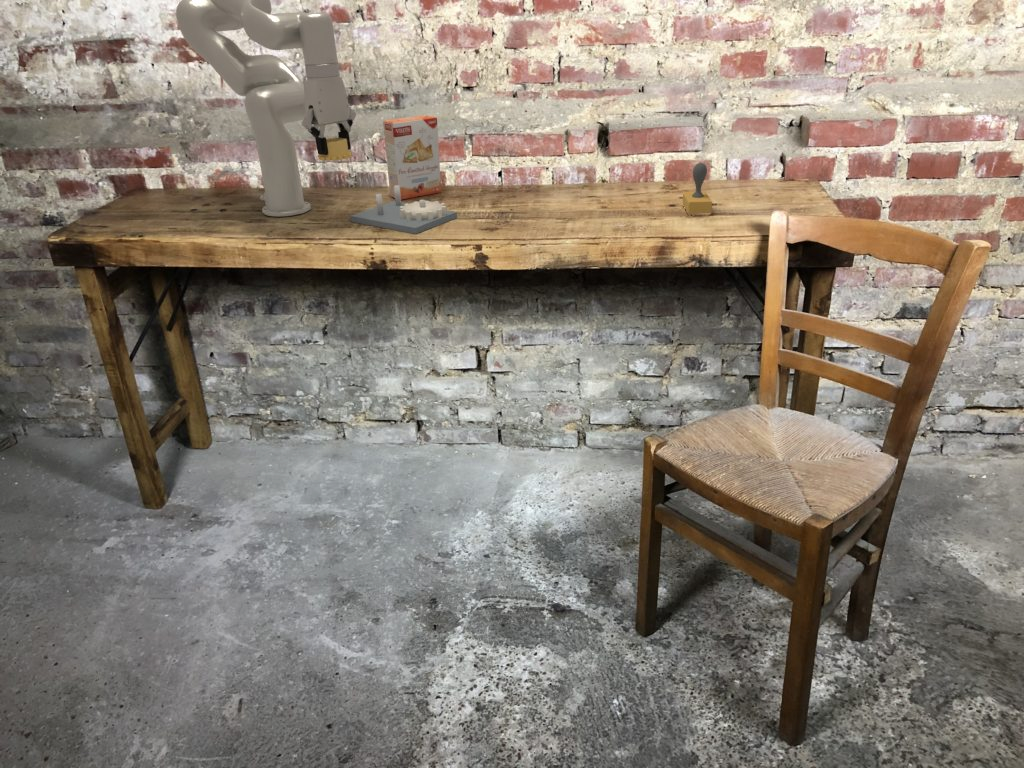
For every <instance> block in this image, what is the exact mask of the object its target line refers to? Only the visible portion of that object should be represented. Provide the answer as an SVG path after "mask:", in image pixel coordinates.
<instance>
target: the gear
mask: <svg viewBox="0 0 1024 768" xmlns="http://www.w3.org/2000/svg"><path fill="white" fill-rule="evenodd" d="M326 140H327V147H328V155H320V154H318V155H317V157H318V160H319V161H324V162H325V161H326V162H327V161H328V162H329V161H333V162H334V161H335V162H336V161H342V160H343V161H344V160H347V159H350V158H352V157H353V152H352V151H350V150H348V144H347V139H346V138H339V137H333V138H332V137H331V138H326Z"/></svg>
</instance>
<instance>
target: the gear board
mask: <svg viewBox="0 0 1024 768" xmlns="http://www.w3.org/2000/svg"><path fill="white" fill-rule="evenodd" d="M394 192H395V198H394V199H395V201H390V202H386V203H385V204H384V203H383V197H382V196H383V195H382V193H376V194H375V202H376V206H375V207H371V208H368V209H365V210H363V211H360V212H357V213H354V214H350V215H349V221H350V222H352V223H357V224H361V225H366V226H372V227H376V228H381V227H382V229H386V230H393V231H398V232H404V233H407V234H408V233H409V234H412V235H417V234H419V233H422V232H425V231H427V230H429V229H432V228H435V227H437V226H440V225H443V224H445V223H448V222H450V221H452V220H455V219H457V218H458V212H457V211H452V210H447V206H446V204H445V203H444V202H441V203H440V201H438V200H436V201H435V200H434V201H429V200H426V199H419V201H413V202H411V203H405V202H402V200H401V194H400V186H399V185H395V186H394Z"/></svg>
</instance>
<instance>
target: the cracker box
mask: <svg viewBox="0 0 1024 768" xmlns="http://www.w3.org/2000/svg"><path fill="white" fill-rule="evenodd" d="M382 124H383V133H384V134H383V135H384V142H385V154H386V166H387V177H388V186H389V196H390V197H391V198H394V199H395V192H394V186H395V185H399V186H400V194H401V201H402V200H407V199H413V198H417V197H418V196H419V197H424V196H429V195H434V194H440V193H442V183H441V182H442V181H441V180H442V179H441V167H440V166H441V164H440V150H439V149H440V148H439V147H440V146H439V133H438V132H439V131H438V130H439V129H438V118H437V117H436V116H433V115H428V114H425V115H418V116H417V115H416V116H409V117H400V118H391V119H386V120H383V121H382Z"/></svg>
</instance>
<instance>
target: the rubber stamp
mask: <svg viewBox="0 0 1024 768" xmlns="http://www.w3.org/2000/svg"><path fill="white" fill-rule="evenodd" d="M707 168H708V167H707V166H706V164H705V163H702V162H697V163H696V164H695V165H694V167H693V169H692V178H693V181H694V184H695V191H684V192H683V193H682V203H683V205H684V207H685V209H686V211H687V213H689V214H691V213H692V214H693V213H711V214H712V209H713V201H712V199H711V198H710V197H709V195H708V194H707V193H706V191H702V186H703V183H704V182H705V179H706V177H707V174H708V173H707V172H708V169H707ZM683 205H682V206H683ZM684 207H683V208H684ZM685 209H684V210H685ZM686 211H685V212H686ZM687 213H686V214H687Z"/></svg>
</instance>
